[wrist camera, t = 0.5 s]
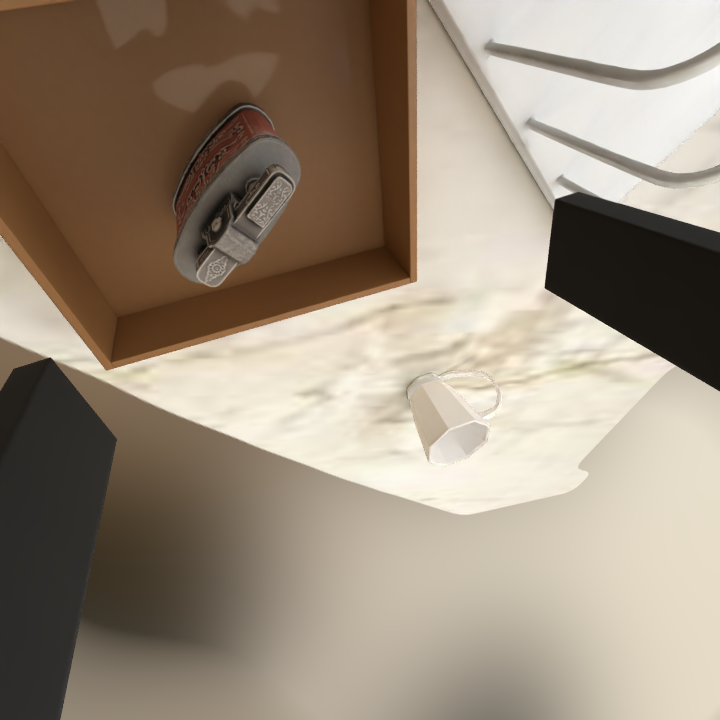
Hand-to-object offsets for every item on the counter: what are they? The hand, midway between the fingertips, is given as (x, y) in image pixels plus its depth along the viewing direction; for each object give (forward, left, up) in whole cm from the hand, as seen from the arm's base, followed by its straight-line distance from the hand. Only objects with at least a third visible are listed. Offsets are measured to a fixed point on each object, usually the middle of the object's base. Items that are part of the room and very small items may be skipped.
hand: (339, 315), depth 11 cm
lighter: (+1, -2, -19) cm, 19 cm away
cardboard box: (+1, -2, -19) cm, 19 cm away
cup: (+27, +13, -19) cm, 36 cm away
